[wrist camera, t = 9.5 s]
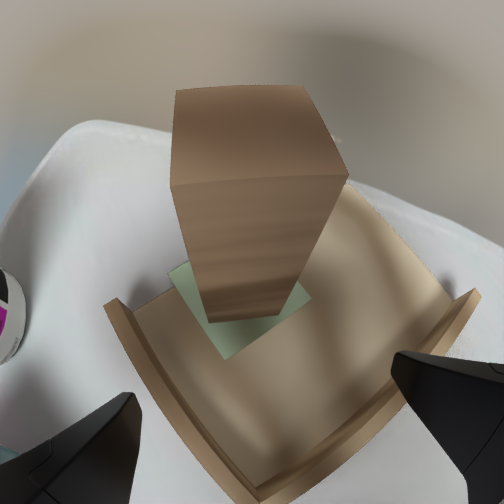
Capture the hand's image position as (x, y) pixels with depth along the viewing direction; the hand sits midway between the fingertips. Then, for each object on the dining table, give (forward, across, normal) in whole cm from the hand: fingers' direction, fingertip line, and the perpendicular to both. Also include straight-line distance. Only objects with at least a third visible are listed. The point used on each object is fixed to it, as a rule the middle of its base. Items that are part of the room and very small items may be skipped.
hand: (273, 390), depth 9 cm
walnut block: (+11, 0, -1) cm, 11 cm away
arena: (+9, +5, -4) cm, 11 cm away
